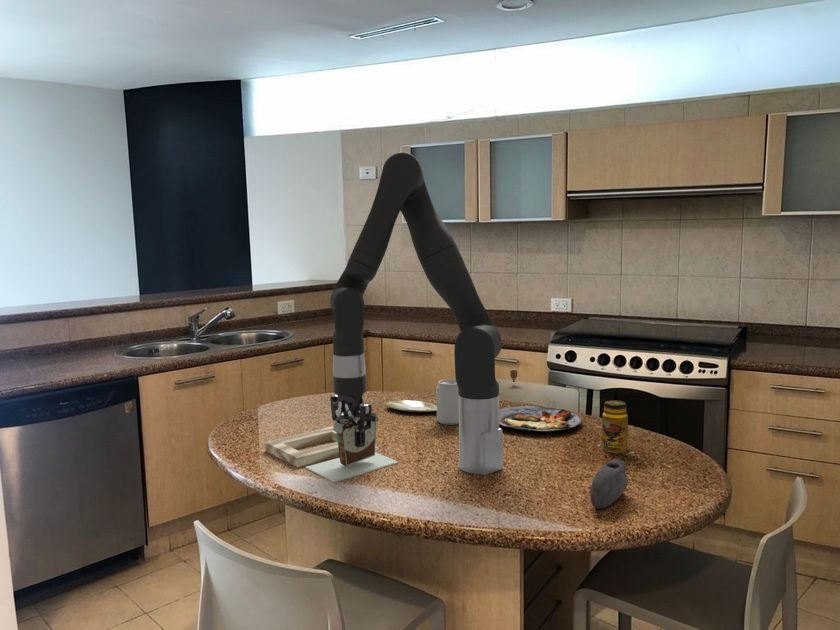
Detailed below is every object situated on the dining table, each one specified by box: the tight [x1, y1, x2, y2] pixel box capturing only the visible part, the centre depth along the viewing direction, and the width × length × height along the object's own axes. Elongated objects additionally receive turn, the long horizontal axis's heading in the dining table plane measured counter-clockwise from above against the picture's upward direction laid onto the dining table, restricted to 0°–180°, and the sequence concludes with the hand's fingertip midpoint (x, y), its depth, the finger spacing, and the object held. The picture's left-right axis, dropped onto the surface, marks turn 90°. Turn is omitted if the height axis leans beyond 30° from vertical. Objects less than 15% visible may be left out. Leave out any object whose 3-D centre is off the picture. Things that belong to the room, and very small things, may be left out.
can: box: [435, 379, 459, 426], centre depth 192 cm, size 8×8×12 cm
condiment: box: [596, 400, 635, 454], centre depth 166 cm, size 7×8×12 cm
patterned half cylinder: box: [333, 412, 379, 466], centre depth 157 cm, size 12×6×10 cm, turn 140°
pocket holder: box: [265, 425, 340, 468], centre depth 170 cm, size 16×20×2 cm
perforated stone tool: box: [589, 458, 629, 510], centre depth 135 cm, size 15×5×7 cm, turn 144°
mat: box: [305, 451, 399, 483], centre depth 158 cm, size 12×18×1 cm, turn 130°
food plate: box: [499, 405, 583, 433], centre depth 189 cm, size 25×23×4 cm
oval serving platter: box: [386, 399, 437, 414], centre depth 202 cm, size 35×11×2 cm, turn 61°
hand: (351, 442), depth 157 cm, fingers closed on patterned half cylinder, 6 cm apart
